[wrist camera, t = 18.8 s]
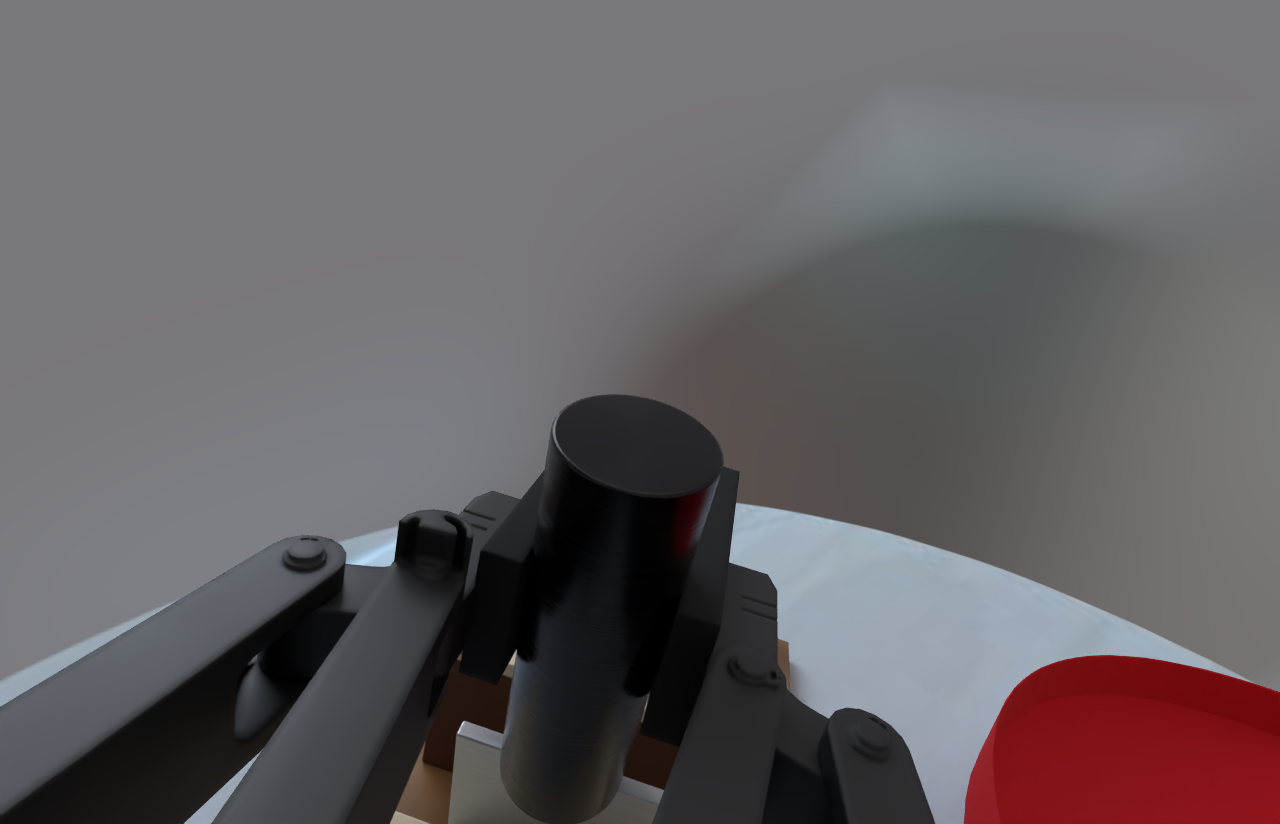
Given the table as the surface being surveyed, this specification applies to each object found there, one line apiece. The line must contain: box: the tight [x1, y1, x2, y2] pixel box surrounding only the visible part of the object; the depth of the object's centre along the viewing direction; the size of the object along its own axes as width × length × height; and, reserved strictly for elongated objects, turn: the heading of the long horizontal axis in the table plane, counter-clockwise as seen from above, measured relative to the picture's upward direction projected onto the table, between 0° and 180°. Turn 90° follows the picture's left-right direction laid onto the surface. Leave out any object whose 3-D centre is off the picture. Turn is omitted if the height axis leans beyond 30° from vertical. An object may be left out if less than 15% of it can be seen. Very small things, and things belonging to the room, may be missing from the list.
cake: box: [422, 649, 685, 790], centre depth 30 cm, size 10×12×6 cm
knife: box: [448, 394, 724, 824], centre depth 16 cm, size 3×5×19 cm, turn 79°
